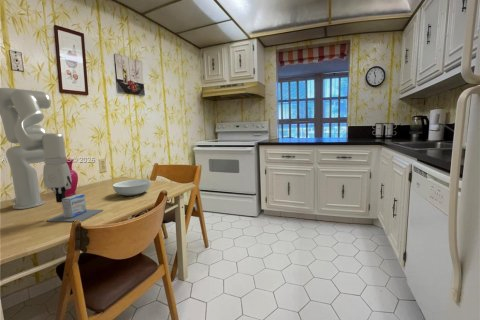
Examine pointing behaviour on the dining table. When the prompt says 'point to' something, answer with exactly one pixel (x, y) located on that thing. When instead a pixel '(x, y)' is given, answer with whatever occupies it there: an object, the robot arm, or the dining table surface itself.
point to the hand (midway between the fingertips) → (61, 201)
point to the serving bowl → (131, 187)
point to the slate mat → (80, 217)
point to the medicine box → (74, 205)
